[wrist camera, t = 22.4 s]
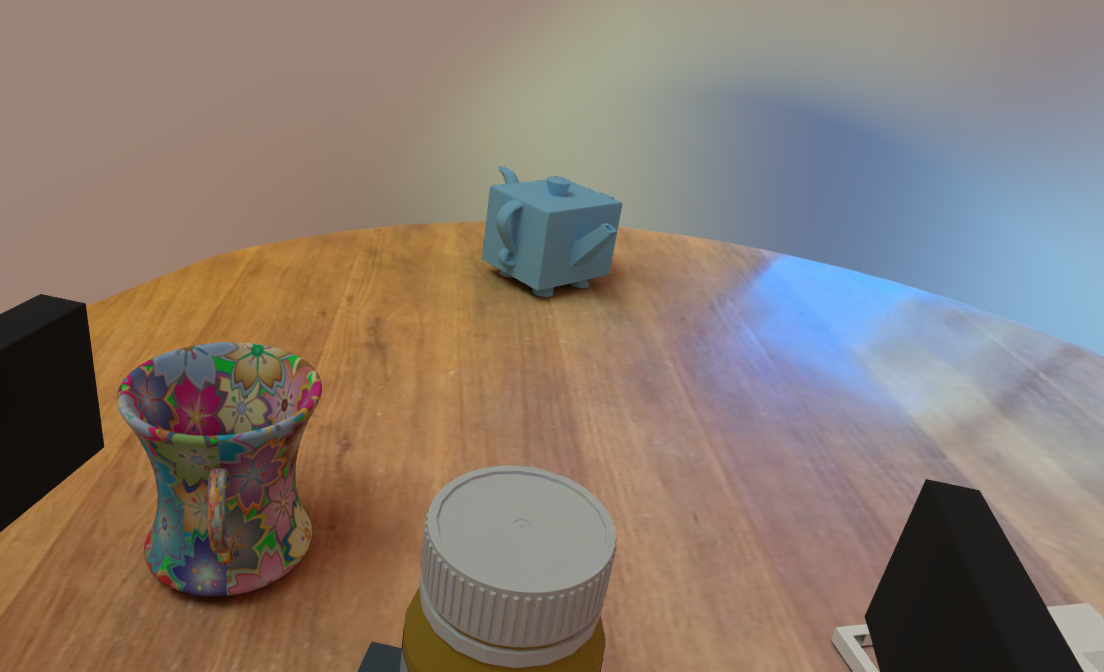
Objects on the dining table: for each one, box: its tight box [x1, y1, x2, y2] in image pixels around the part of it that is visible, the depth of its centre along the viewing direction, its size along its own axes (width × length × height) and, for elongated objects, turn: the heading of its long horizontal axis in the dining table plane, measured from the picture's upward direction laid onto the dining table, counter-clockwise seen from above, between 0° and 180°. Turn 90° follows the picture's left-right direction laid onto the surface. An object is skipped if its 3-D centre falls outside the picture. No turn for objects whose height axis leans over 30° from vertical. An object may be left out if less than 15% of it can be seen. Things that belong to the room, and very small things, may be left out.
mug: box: [117, 342, 322, 597], centre depth 39 cm, size 12×9×11 cm
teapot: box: [482, 167, 622, 297], centre depth 83 cm, size 16×18×11 cm
